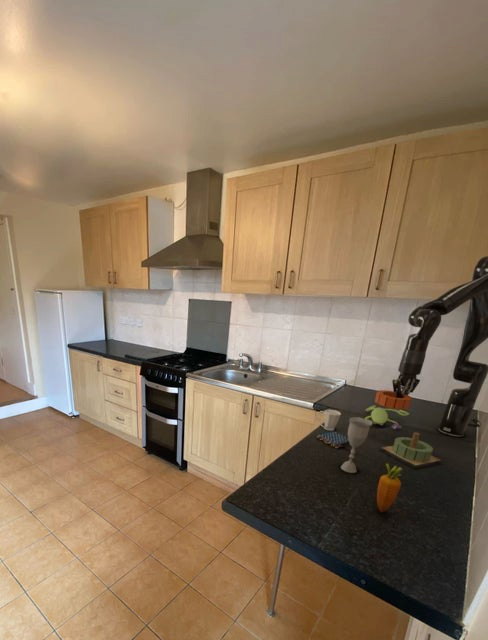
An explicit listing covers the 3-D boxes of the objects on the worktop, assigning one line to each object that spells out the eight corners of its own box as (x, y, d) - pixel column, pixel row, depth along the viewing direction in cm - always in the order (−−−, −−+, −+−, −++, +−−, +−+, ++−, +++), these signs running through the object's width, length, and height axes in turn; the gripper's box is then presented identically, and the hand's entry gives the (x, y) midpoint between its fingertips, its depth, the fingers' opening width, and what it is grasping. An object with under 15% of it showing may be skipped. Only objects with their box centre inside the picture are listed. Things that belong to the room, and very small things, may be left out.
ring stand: (404, 446, 135) (411, 424, 131) (440, 463, 123) (448, 439, 119) (380, 450, 130) (386, 427, 126) (414, 469, 117) (422, 443, 114)
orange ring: (388, 398, 141) (390, 389, 140) (415, 408, 130) (418, 398, 129) (368, 400, 136) (370, 391, 135) (394, 410, 126) (397, 400, 125)
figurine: (407, 420, 164) (411, 409, 162) (399, 436, 144) (403, 424, 142) (367, 410, 175) (370, 400, 173) (354, 423, 155) (357, 412, 153)
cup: (333, 433, 143) (337, 416, 140) (311, 426, 149) (315, 409, 147) (339, 429, 148) (343, 412, 145) (318, 422, 154) (321, 406, 152)
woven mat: (336, 449, 129) (337, 444, 128) (315, 438, 137) (316, 433, 137) (354, 445, 133) (355, 440, 133) (332, 434, 142) (333, 430, 141)
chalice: (350, 476, 110) (362, 426, 104) (333, 466, 116) (344, 419, 110) (364, 471, 114) (377, 423, 108) (347, 462, 119) (358, 416, 113)
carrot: (367, 506, 95) (380, 460, 90) (383, 506, 95) (397, 460, 90) (378, 518, 90) (392, 470, 85) (395, 518, 91) (410, 470, 86)
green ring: (406, 444, 133) (409, 435, 132) (436, 459, 123) (440, 449, 121) (385, 448, 129) (388, 439, 127) (415, 463, 118) (418, 453, 117)
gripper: (409, 363, 124) (396, 407, 129) (433, 362, 129) (420, 404, 135) (391, 359, 130) (380, 400, 136) (414, 358, 135) (403, 398, 141)
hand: (400, 402), depth 135 cm, fingers closed on orange ring, 2 cm apart
